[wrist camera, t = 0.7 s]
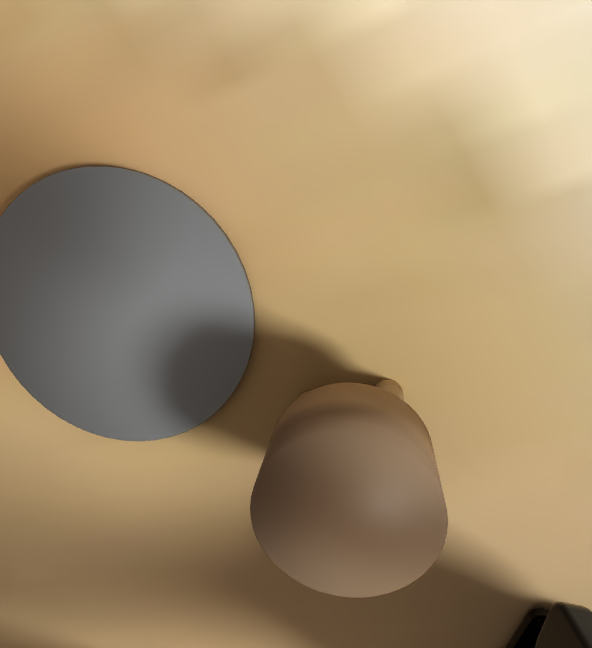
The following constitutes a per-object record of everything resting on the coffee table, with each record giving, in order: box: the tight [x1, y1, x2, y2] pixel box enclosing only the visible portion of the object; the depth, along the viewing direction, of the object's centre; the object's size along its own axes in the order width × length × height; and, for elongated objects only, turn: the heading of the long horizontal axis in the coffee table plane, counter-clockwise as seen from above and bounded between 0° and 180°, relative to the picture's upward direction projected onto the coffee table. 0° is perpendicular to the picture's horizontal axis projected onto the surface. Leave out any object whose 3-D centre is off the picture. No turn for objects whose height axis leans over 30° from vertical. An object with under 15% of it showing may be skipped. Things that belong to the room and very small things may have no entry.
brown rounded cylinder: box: [250, 380, 448, 598], centre depth 18 cm, size 6×6×6 cm
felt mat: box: [0, 166, 255, 441], centre depth 21 cm, size 12×12×1 cm
